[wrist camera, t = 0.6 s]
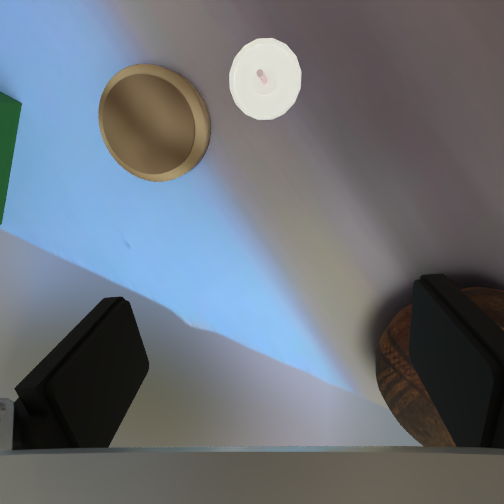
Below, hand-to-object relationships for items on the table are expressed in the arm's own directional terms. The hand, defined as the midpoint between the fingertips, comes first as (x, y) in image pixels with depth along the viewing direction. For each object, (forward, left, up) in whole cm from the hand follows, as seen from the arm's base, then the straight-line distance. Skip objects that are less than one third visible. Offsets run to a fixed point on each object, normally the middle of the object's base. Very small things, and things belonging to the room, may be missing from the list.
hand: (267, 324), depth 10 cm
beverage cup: (-7, -6, -30) cm, 32 cm away
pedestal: (+3, -15, -30) cm, 34 cm away
